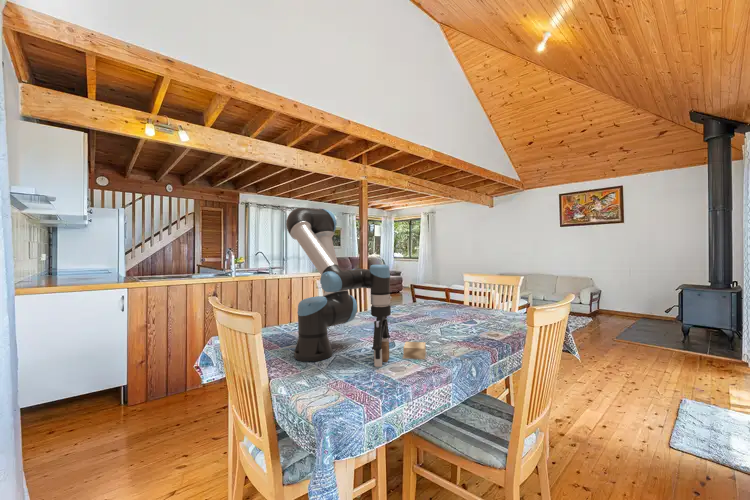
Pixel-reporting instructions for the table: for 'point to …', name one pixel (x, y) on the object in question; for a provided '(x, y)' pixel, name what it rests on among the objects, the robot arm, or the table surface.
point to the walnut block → (385, 351)
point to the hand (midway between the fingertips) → (381, 360)
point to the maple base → (415, 350)
